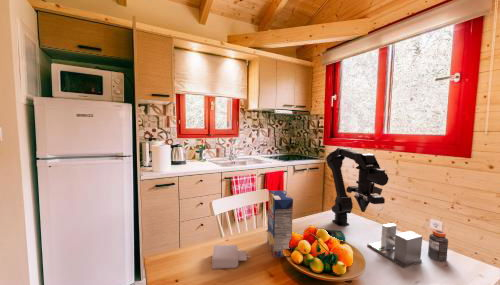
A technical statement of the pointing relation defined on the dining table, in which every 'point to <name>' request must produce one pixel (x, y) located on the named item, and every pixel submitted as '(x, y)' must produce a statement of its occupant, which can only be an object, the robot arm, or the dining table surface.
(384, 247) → the white upright block
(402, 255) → the base
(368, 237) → the dining table surface
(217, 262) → the charger
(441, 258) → the pill bottle
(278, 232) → the juice carton
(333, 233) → the digital multimeter
